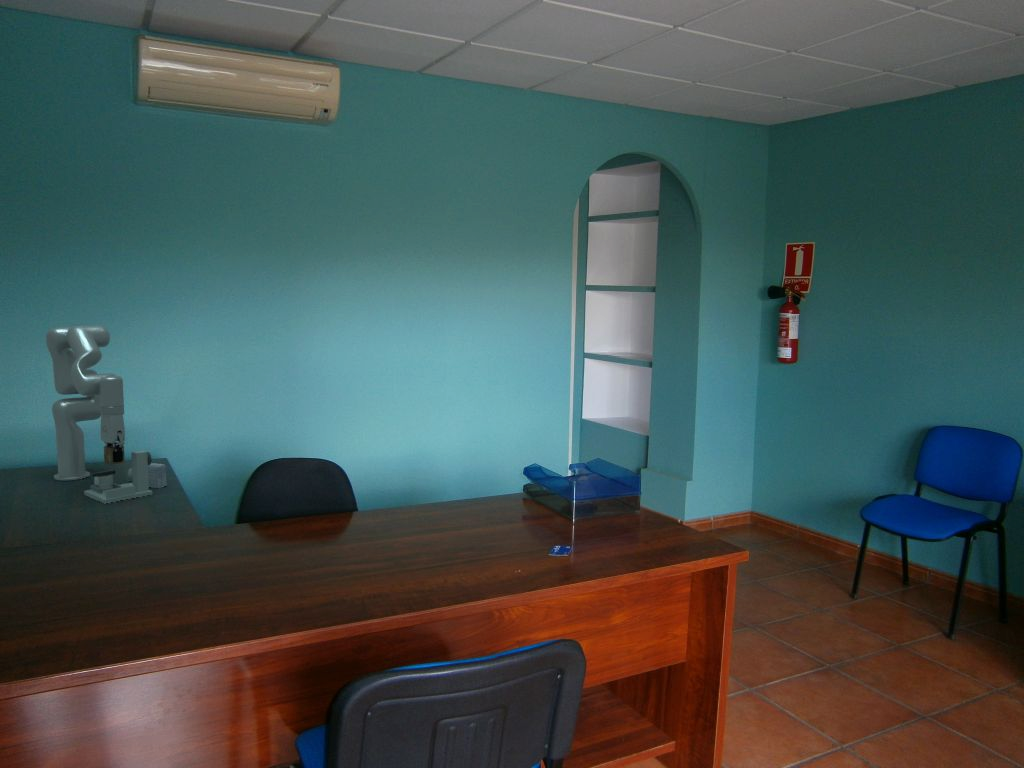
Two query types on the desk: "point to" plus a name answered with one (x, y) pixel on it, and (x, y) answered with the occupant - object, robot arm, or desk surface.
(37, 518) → the desk surface
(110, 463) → the block
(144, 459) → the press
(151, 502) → the desk surface
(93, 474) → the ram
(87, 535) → the desk surface
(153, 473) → the medicine box
